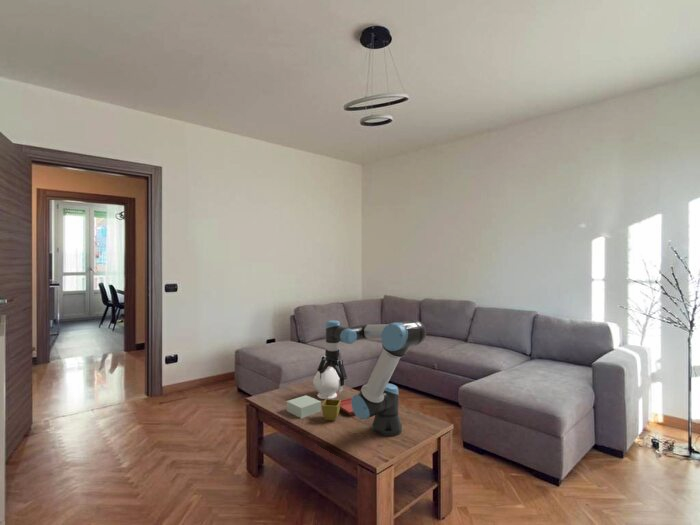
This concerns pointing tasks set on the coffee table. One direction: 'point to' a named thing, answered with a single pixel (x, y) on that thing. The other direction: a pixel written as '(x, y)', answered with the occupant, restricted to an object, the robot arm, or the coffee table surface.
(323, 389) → the decorative vase
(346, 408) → the plant saucer
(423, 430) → the coffee table surface
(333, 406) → the flower pot
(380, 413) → the robot arm
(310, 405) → the sage block
